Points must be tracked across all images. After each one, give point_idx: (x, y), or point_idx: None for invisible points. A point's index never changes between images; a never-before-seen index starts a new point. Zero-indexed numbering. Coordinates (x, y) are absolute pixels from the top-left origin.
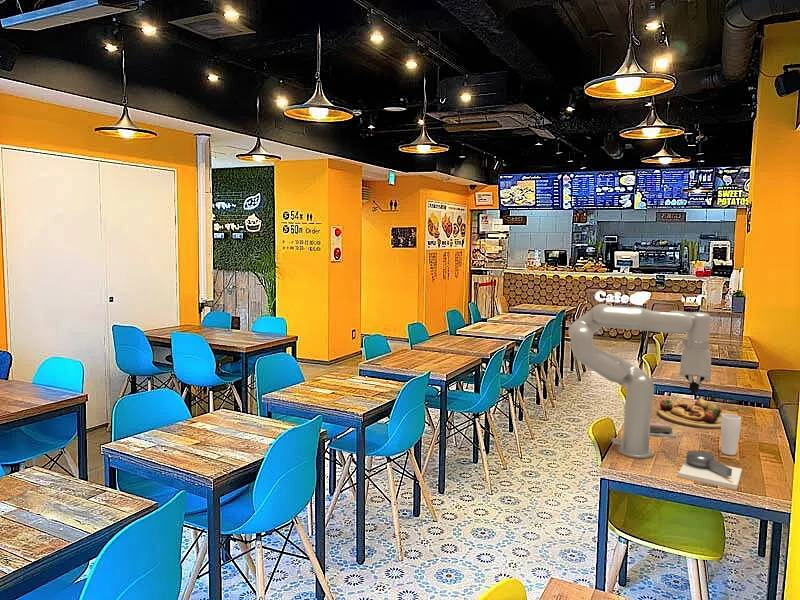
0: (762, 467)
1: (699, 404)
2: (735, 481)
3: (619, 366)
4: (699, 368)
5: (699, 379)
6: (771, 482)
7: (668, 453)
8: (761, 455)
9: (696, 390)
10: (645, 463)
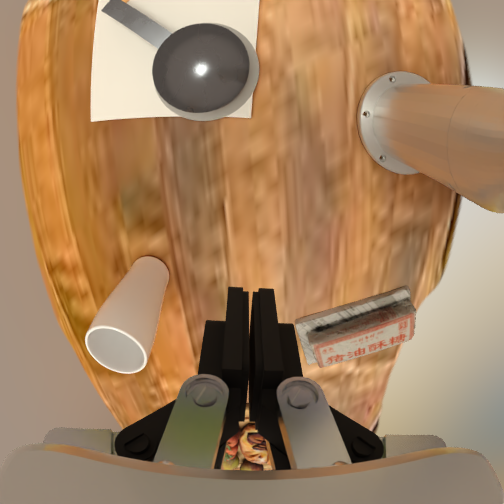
0: (65, 206)
1: (254, 468)
2: (104, 3)
3: None
4: None
5: (175, 429)
6: (37, 102)
7: (311, 170)
8: (89, 297)
9: (221, 323)
10: (367, 39)
